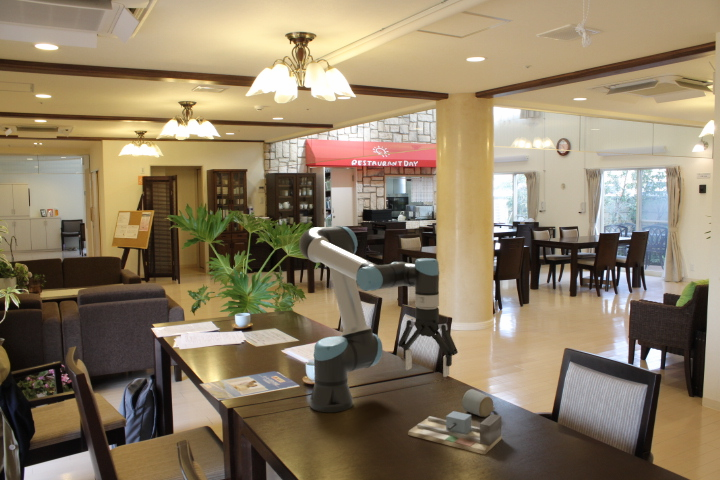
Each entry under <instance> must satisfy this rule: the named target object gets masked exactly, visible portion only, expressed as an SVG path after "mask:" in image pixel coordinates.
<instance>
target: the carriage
mask: <svg viewBox="0 0 720 480" xmlns="http://www.w3.org/2000/svg"><path fill="white" fill-rule="evenodd" d="M445 420H446V430H449V431H453V432H457V433H462V434H466V435H467V434H468V433H469V432H470V431H471V426H472V414H469V413H463V412H459V411H456V410H453V411H451V412H450V413H449V414H447V415H445Z"/></svg>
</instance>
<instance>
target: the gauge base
mask: <svg viewBox="0 0 720 480" xmlns="http://www.w3.org/2000/svg"><path fill="white" fill-rule="evenodd" d="M407 435H408V436H411V437H415V438H417V439H418V438H419V439H423V440H427V441H431V442H434V443H438V444H442V445H445V446H450V447H453V448H458V449H462V450H464V451H465V450H466V451H468V452H469V451H470V452H473V453H478V454H479V455H480V454H481V455H486V454H487V453H489V451H491V449H493V448H494V447H495V446H496V445H497V444H498V443H499V442H500V441H501V440H502V439H503V438H502V437H503V436H502V415H498V414H493V413H490V415H488V416H487V417H485V419H483V420H482V421H481V422H480V423H479V427H478V426H473V425H471V431H470V432H469V433H468V434H467V435H466V434H462V433H457V432H453V431H449V430H446V419H443V418H439V417H435V416H430V415H429V416H428V417H427V418H426V419H424V420H423V421H421V422H418V424H416V425H414V426H413V427H412V428H410V429H409V430H407Z"/></svg>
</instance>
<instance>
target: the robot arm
mask: <svg viewBox="0 0 720 480" xmlns="http://www.w3.org/2000/svg"><path fill="white" fill-rule="evenodd" d="M298 243H299V244H298V246H299V250H300V253H301V254H302V255H303V257H304V258H306V259H308V260H309V261H311V262H313V263H316V264H317V263H322V264H323V265H325V266H327V267H328V268H329V270H330V271H329V272H330V275H331V280H332V285H333V287H334V288H333V289H334V294H335V297H336V302H337V307H338V310H339V311H338V312H339V316H340V319H341V323H342V324H341V325H342V328H343V330H342V333H341V334H340V335H334V336H328V337H327V336H326V337H324V338H321V339H319V340H318V341H316V342H315V344H314V349H313V350H314V351H313V357H314V358H313V360H314V364H313V365H314V366H313V367H314V368H313V369H314V384H313V385H314V386H313V387H312V388H313V389H312V392H311V394H310V395H311V396H310V399H309V406H310V408H311V409H312V410H314V411H316V412H320V413H321V412H322V413H339V412H344V411H346V410H349V409H351V408H353V405H354V404H353V403H354V402H353V401H354V397H353V396H352V392H351V390H350V386H349V381H348V376H349V375H348V373H351V372H354V371H359V370H363V369H367V368H371V367H373V366H375V365H377V364H379V362H380V360H381V358H382V356H383V350H384V349H383V343H382V340H381V338H380V337H379V335H377V333H373V329H372V327H370V326H368V325H367V321H366V318H365V315H364V314H365V313H364V310H363V305H362V301H361V297H360V293H359V289H360V290H363V291H365V292H366V291H371V292H373V291H377V290H382V289H383V290H384V289H388V288H389V289H391V288H397V287H403V286H405V287H413V288H414V294H415V296H414V297H415V298H414V299H415V301H414V302H415V303H414V304H415V309H414V310H415V311H414V317H415V320H414V318H411V319H407V320H406V325H405V328H404V331H403V332H402V335H401V336H400V339H399V342H398V343H397V346H398V347H399V348H402V350H403V359H405V370H406V371H409V370H411V369H412V368H413V364H412V363H413V358H412V357H413V356H412V351H413V349H412V348H411V346H412V345H413V344H414V343H415V342H416V340H417V339H418V338H419V337H420V336H421V337H428V338H432V339H433V340H435V342H436V344H437V345H438V346H439V348H440V350H441V351H442V352H443V353H444V356H443V358H442V361H443V365H442V367H443V369H442V373H443V375H442V377H444V378H447V377H448V376H450V367H451V366H452V364H453V362H452V360H453V359H452V358H453V357H452V356H455V355H457V354H458V353H459V352H458V349H457V347H456V344H455V342H454V340H453V338H452V335H451V332H450V330H449V324H448V323H441V324H440V323H439V320H440V319H439V318H440V313H439V312H440V309H439V306H440V292H439V290H440V286H439V285H440V282H439V281H440V266H439V261H438V259H436V258H430V257H429V258H427V257H425V258H424V257H421V258H417V259H416V260H415V262H414V263H410V262H405V261H393V262H391V263H388V264H376V263H375V262H374V263H373V262H371V261H369V260H368V259H365V258H363V257H361V256H358V255H356V252H357V250H358V248H357V247H358V245H359V244H358V239H357V236H356V234H355V232H354V231H353V230H352V229H350V227H348V226H341V225H334V226H322V227H321V226H320V227H319V226H317V227H315V226H314V227H312V228H309V229H307V230H306V231H304V232H303V234H302V235H301V236H300V239H299V241H298ZM358 287H359V288H358ZM413 327H415V328H416V330H415V331H414V332H413V334H412V335H411V337H409V336H410V334H411V332H412V330H413ZM439 329H440V331H439ZM440 332H441V333H440Z"/></svg>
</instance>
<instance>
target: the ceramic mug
mask: <svg viewBox="0 0 720 480" xmlns="http://www.w3.org/2000/svg"><path fill="white" fill-rule="evenodd" d="M461 401H462V402H461V403H462V404H461V405H462V408H463V410H464V411H465V412H468V413H470V414H471V415H475V416H478V417H481V418H487V417H489V416H490V415H491V414H492V412H495V410H496V406H494V400H493V398H492V397H490V396H489V395H487V394H485V393H483V392H480V391H478V390H475V389H473V388H471V389H468V390H467V391H466V392H465V393H464V395H463V397H462V400H461Z"/></svg>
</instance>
